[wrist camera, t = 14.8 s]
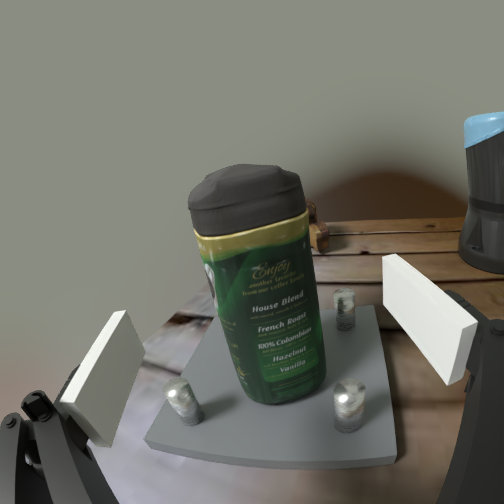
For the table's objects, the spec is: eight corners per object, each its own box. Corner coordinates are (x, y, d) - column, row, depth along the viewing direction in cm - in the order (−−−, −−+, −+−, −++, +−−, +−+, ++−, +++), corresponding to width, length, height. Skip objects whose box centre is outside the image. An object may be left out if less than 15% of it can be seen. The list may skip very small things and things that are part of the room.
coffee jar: (340, 387, 22) (316, 153, 16) (251, 419, 21) (178, 183, 15) (301, 330, 31) (269, 155, 25) (231, 353, 30) (180, 176, 24)
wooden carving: (341, 253, 52) (334, 199, 49) (319, 260, 52) (311, 205, 48) (305, 232, 68) (298, 189, 64) (286, 237, 67) (278, 194, 64)
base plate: (218, 325, 39) (206, 289, 37) (373, 314, 33) (372, 274, 31) (150, 448, 21) (121, 410, 19) (393, 463, 15) (406, 424, 13)
